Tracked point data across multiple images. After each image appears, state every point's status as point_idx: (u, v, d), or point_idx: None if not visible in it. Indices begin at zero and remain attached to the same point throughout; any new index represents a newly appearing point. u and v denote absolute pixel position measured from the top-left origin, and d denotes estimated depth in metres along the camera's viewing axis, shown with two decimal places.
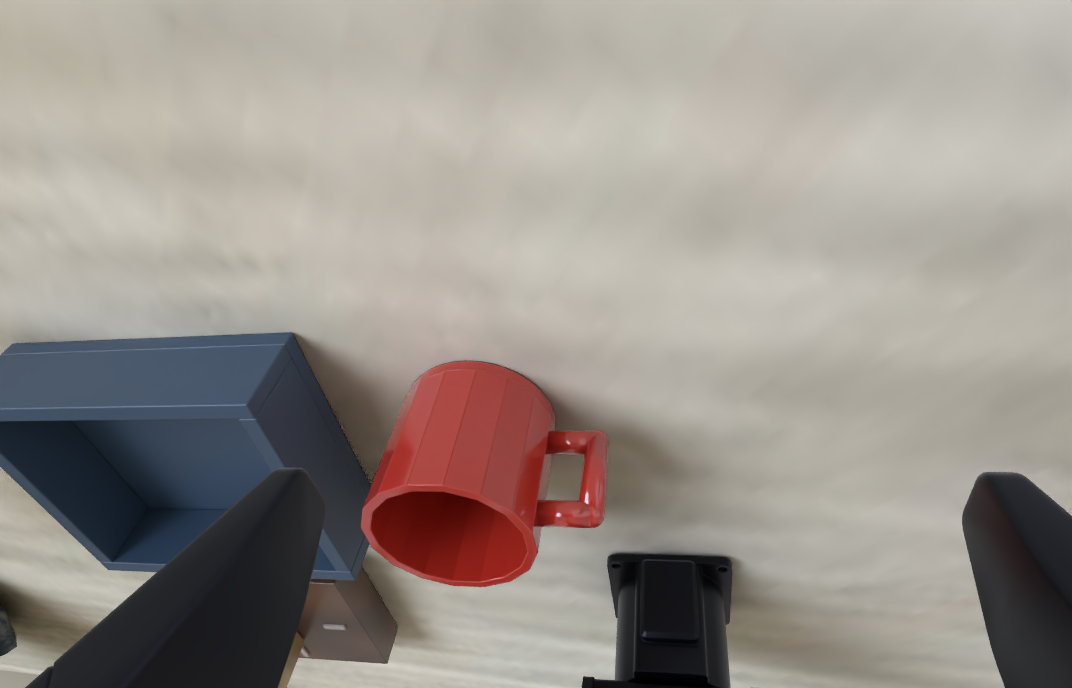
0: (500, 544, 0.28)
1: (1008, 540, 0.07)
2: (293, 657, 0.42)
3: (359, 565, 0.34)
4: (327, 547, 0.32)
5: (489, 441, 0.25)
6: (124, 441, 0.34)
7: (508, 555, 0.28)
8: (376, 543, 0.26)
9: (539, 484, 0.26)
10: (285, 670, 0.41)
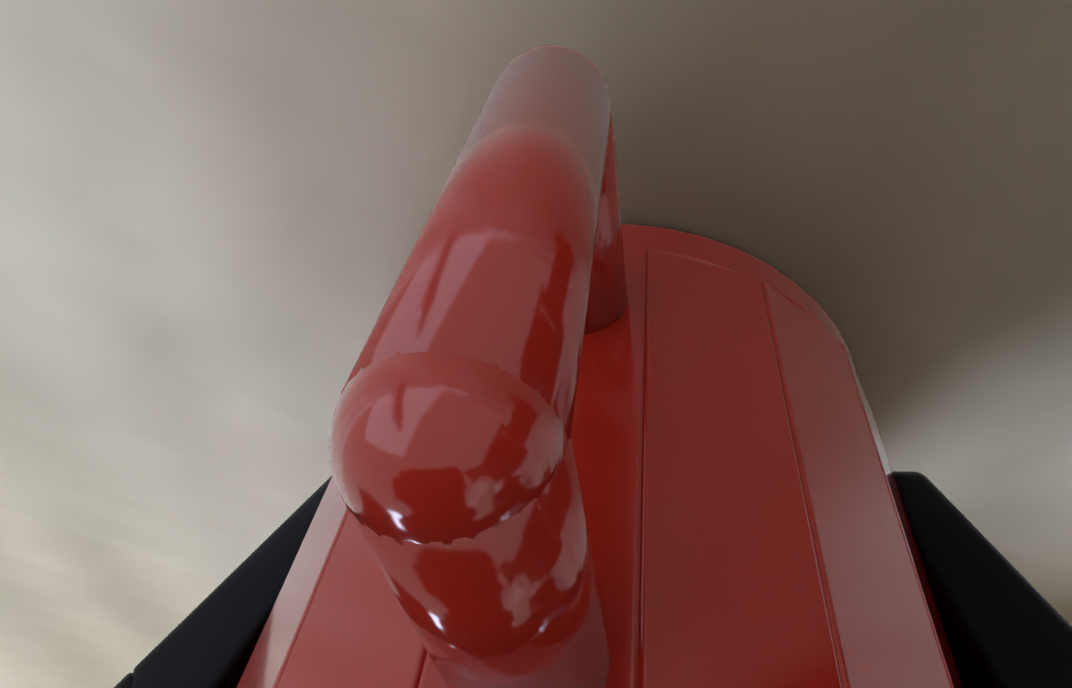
0: None
1: None
2: None
3: None
4: None
5: (277, 601, 0.07)
6: None
7: None
8: None
9: None
10: None
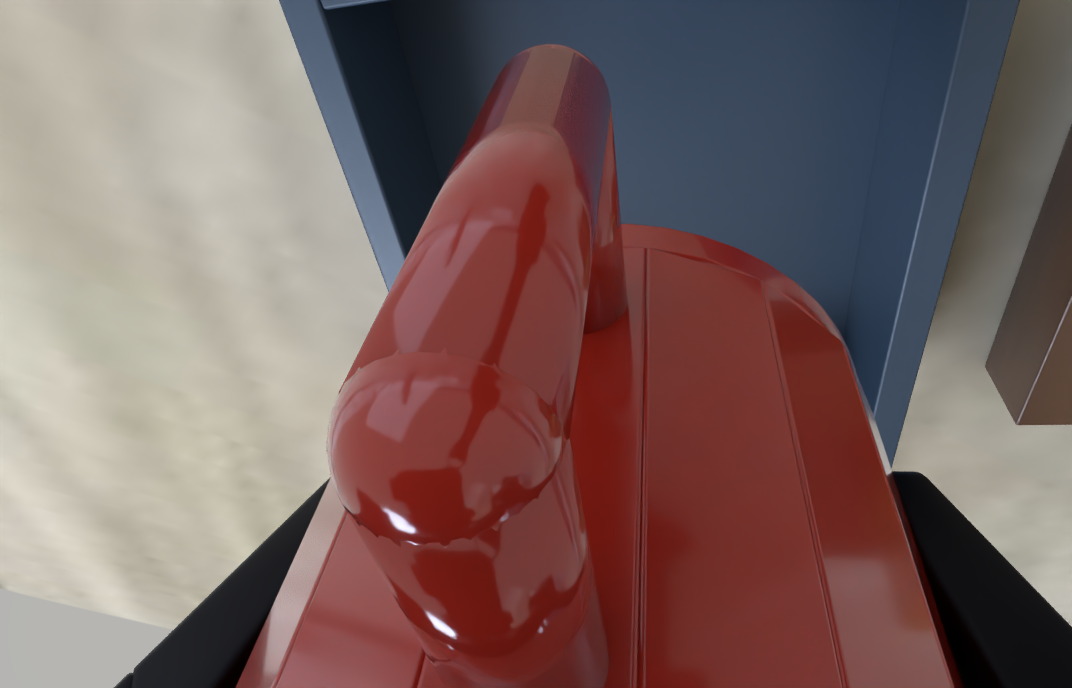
0: None
1: None
2: None
3: None
4: None
5: (276, 602, 0.07)
6: None
7: None
8: None
9: None
10: None
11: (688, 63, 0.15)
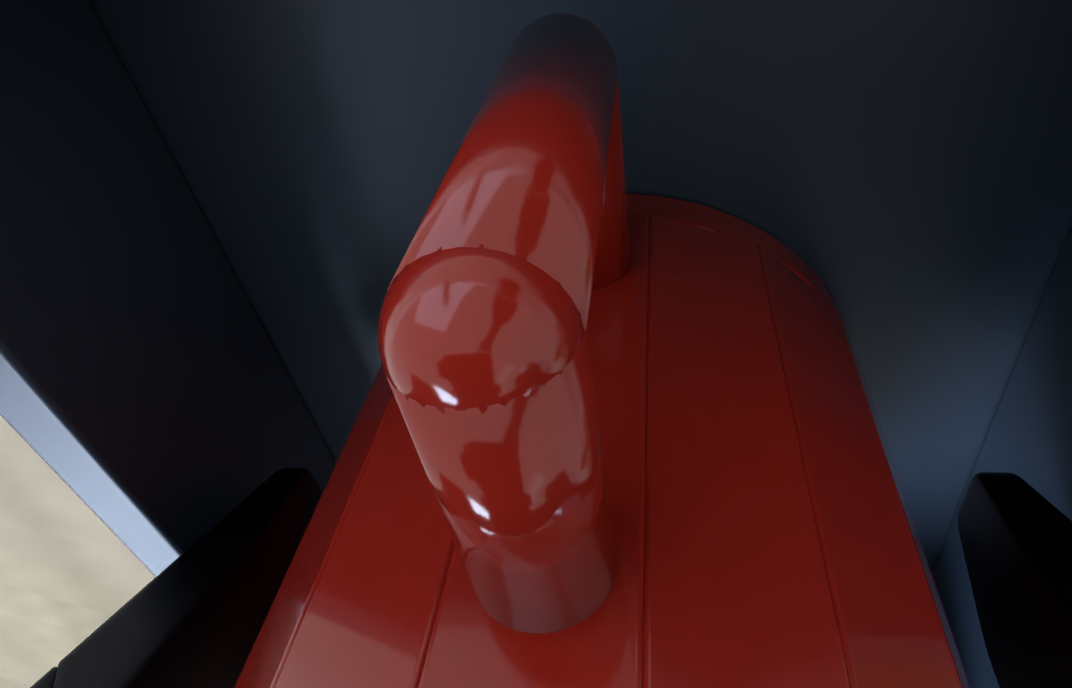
0: None
1: (1002, 540, 0.07)
2: None
3: None
4: None
5: (301, 543, 0.07)
6: None
7: None
8: None
9: None
10: None
11: (689, 118, 0.08)
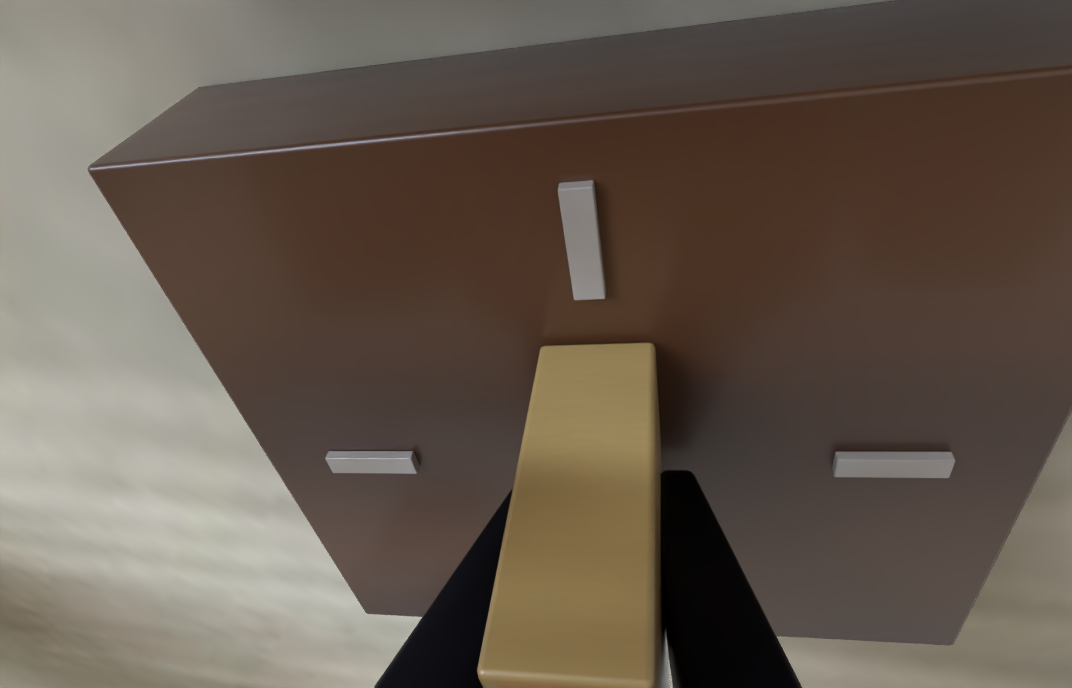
0: None
1: None
2: None
3: None
4: None
5: None
6: None
7: None
8: None
9: None
10: (668, 669, 0.09)
11: None
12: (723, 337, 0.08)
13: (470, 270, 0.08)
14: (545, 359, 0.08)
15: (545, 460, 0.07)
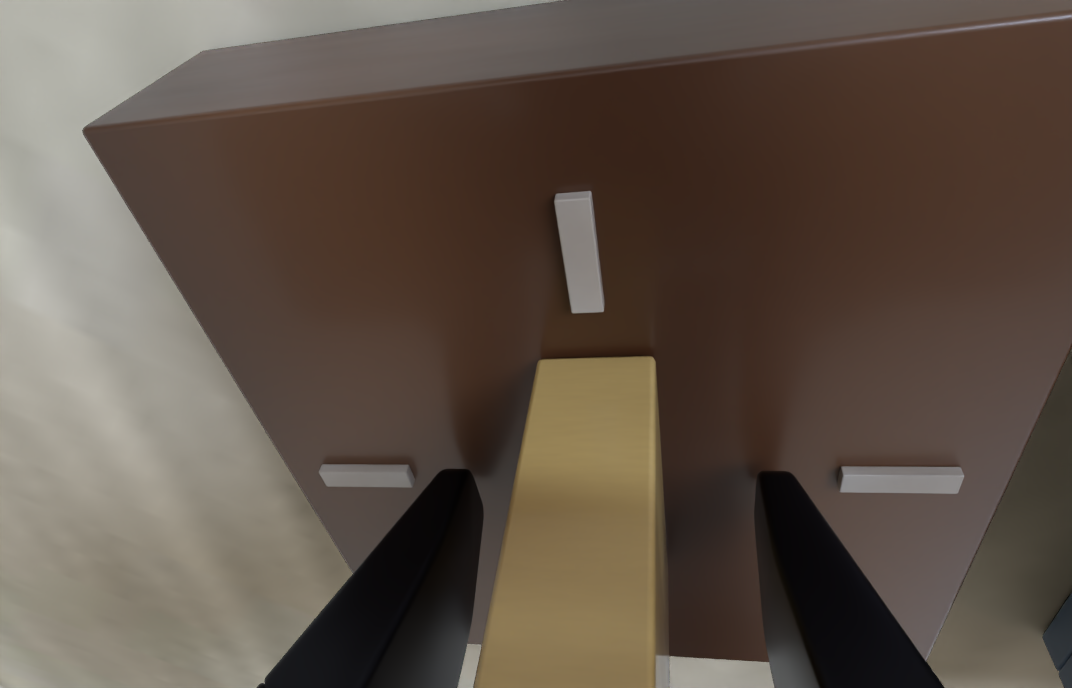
0: None
1: (765, 534, 0.08)
2: None
3: None
4: None
5: None
6: None
7: None
8: None
9: None
10: None
11: None
12: None
13: (889, 401, 0.08)
14: (542, 373, 0.08)
15: (542, 480, 0.07)
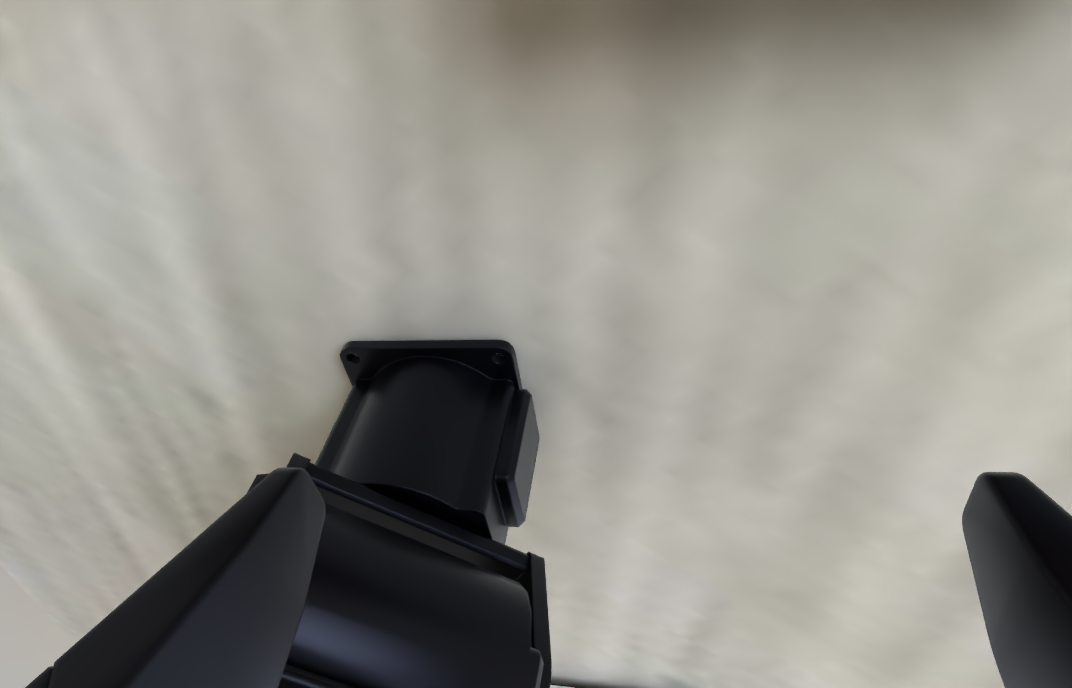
0: None
1: (1008, 540, 0.07)
2: None
3: None
4: None
5: None
6: None
7: None
8: None
9: None
10: None
11: None
12: None
13: None
14: None
15: None
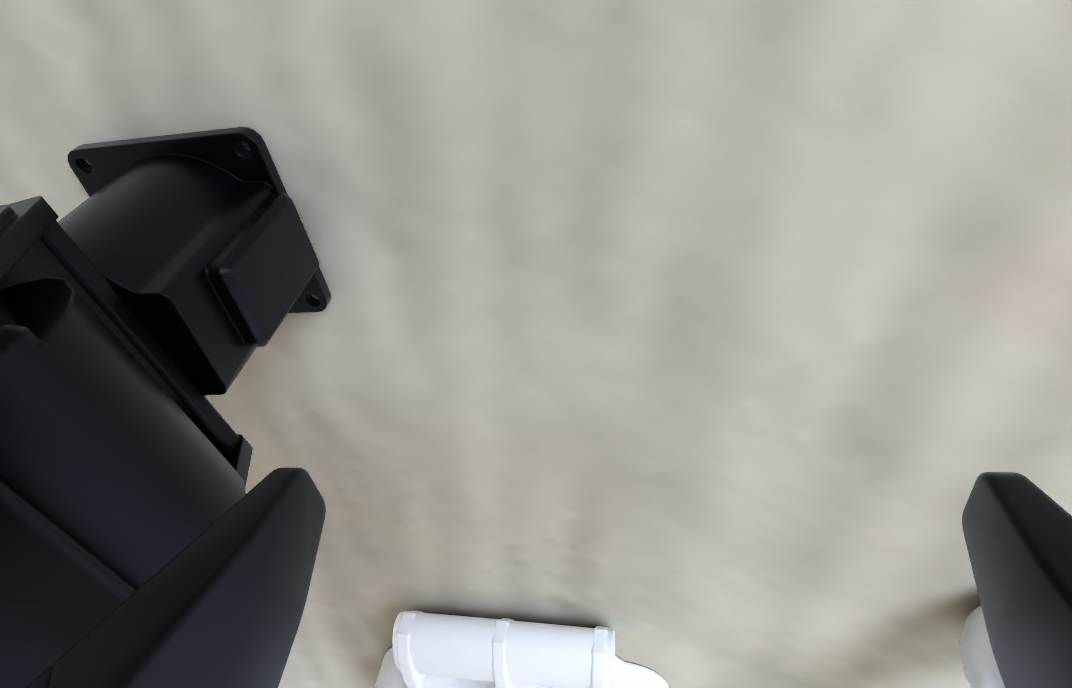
0: None
1: (1008, 540, 0.07)
2: None
3: None
4: None
5: None
6: None
7: None
8: None
9: None
10: None
11: None
12: None
13: None
14: None
15: None
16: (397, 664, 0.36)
